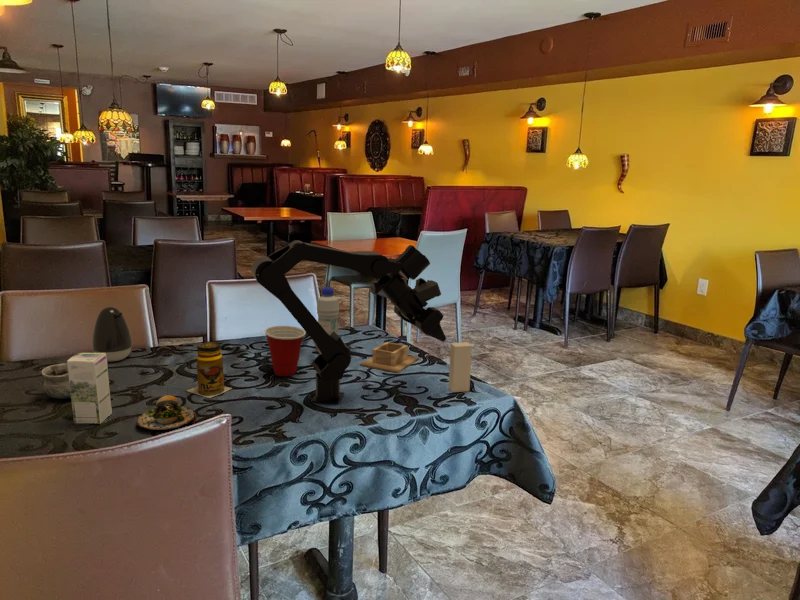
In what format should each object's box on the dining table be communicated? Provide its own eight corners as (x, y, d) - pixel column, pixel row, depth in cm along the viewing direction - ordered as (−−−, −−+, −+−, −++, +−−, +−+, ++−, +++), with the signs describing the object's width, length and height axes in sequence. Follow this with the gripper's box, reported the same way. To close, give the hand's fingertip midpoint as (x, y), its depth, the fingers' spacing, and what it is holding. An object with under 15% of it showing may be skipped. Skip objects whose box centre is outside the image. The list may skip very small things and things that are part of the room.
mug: (53, 389, 139) (48, 350, 137) (109, 386, 142) (105, 348, 140) (37, 405, 130) (32, 363, 128) (97, 402, 133) (93, 361, 131)
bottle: (312, 353, 172) (311, 288, 167) (325, 347, 178) (325, 284, 173) (331, 356, 169) (330, 290, 164) (343, 351, 175) (343, 286, 170)
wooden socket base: (397, 373, 157) (397, 357, 156) (359, 365, 162) (360, 350, 161) (419, 359, 169) (419, 344, 168) (383, 352, 174) (384, 338, 173)
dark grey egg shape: (107, 367, 155) (102, 313, 152) (85, 360, 161) (80, 307, 157) (141, 357, 164) (137, 306, 161) (119, 351, 169) (115, 301, 166)
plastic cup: (293, 382, 148) (293, 337, 145) (257, 376, 151) (256, 333, 149) (313, 369, 158) (312, 327, 155) (278, 364, 161) (278, 323, 159)
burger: (124, 433, 118) (121, 399, 117) (157, 410, 130) (154, 379, 128) (178, 438, 117) (176, 404, 115) (206, 415, 128) (204, 383, 126)
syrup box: (113, 414, 126) (107, 351, 123) (100, 425, 121) (94, 360, 118) (86, 413, 126) (80, 351, 123) (72, 425, 121) (65, 360, 117)
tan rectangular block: (452, 392, 144) (454, 346, 141) (448, 387, 147) (450, 343, 144) (469, 391, 145) (471, 345, 143) (465, 386, 148) (467, 342, 145)
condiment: (210, 398, 136) (207, 350, 134) (185, 391, 140) (182, 344, 138) (232, 389, 142) (230, 343, 140) (208, 382, 147) (206, 337, 144)
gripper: (439, 276, 131) (476, 322, 138) (408, 264, 148) (442, 305, 155) (405, 310, 130) (444, 355, 136) (377, 294, 147) (414, 334, 153)
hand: (436, 335), depth 145 cm, fingers open, 9 cm apart
